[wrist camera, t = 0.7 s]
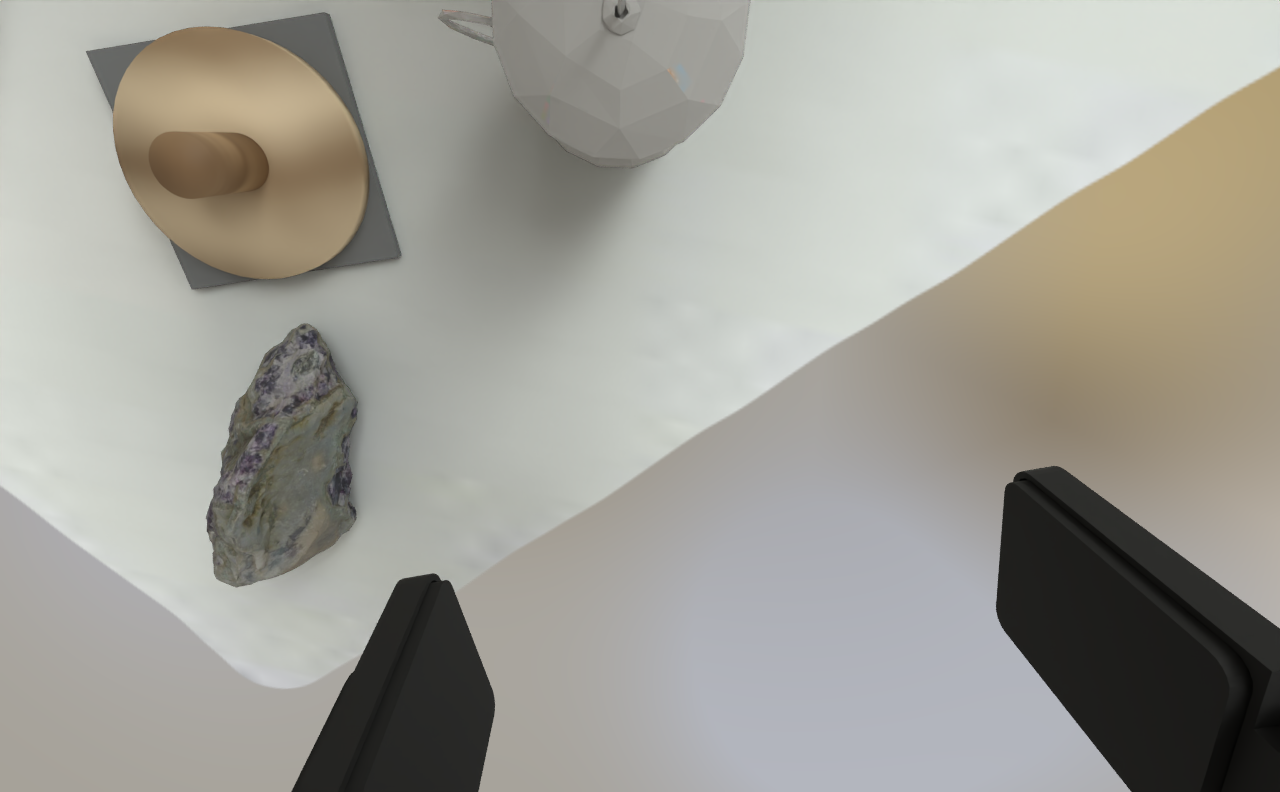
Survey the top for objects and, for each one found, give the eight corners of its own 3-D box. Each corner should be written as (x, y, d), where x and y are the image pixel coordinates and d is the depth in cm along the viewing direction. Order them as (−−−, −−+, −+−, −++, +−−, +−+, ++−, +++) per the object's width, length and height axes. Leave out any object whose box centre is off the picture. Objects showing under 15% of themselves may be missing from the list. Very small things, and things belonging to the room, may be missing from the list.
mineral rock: (319, 303, 36) (216, 360, 26) (458, 422, 39) (410, 509, 30) (196, 437, 39) (66, 530, 30) (335, 536, 42) (257, 648, 33)
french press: (683, 188, 34) (829, 291, 11) (476, 135, 32) (141, 124, 9) (734, -13, 30) (1117, -491, 7) (503, -83, 29) (67, -964, 6)
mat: (95, 52, 30) (85, 51, 30) (329, 14, 30) (324, 12, 29) (198, 287, 35) (191, 289, 34) (401, 255, 35) (398, 257, 34)
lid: (86, 51, 30) (-27, 32, 24) (324, 12, 29) (262, -15, 24) (191, 289, 34) (116, 316, 29) (398, 257, 34) (359, 278, 29)
